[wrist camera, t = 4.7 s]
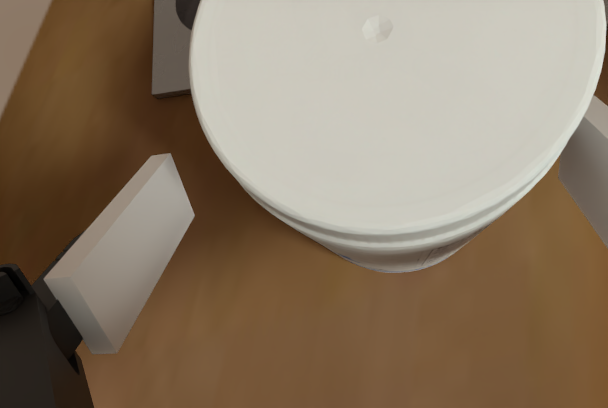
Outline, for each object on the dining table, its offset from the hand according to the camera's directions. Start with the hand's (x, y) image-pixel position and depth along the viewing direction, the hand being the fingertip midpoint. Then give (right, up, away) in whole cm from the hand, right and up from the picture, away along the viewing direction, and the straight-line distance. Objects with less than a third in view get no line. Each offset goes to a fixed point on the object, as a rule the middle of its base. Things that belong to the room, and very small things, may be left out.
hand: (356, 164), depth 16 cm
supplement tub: (+3, 0, +9) cm, 9 cm away
